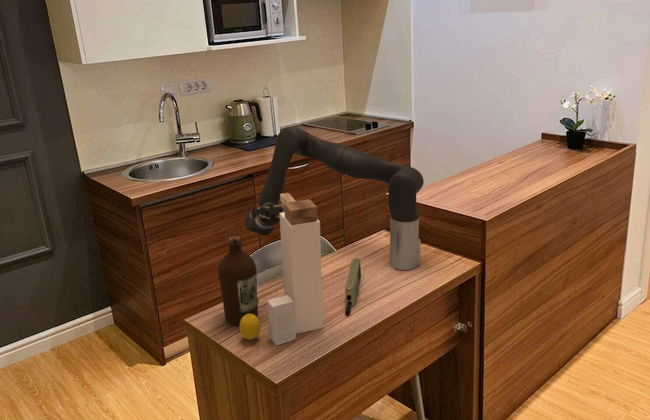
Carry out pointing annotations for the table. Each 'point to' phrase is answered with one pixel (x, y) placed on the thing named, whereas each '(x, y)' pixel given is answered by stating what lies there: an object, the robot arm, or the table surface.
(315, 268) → the stand
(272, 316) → the skincare box
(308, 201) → the mallet
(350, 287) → the handheld radio
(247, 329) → the lemon
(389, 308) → the table surface
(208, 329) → the table surface
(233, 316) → the olive oil
